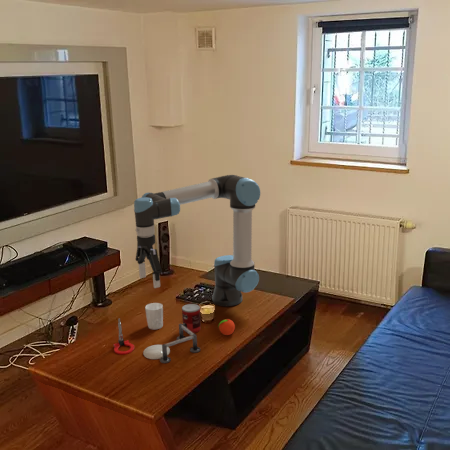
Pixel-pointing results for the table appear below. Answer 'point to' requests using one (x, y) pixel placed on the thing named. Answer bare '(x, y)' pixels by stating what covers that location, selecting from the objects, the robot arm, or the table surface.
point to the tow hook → (122, 342)
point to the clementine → (227, 327)
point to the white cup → (154, 315)
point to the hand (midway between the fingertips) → (149, 282)
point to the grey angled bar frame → (180, 339)
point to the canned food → (191, 317)
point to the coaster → (154, 352)
